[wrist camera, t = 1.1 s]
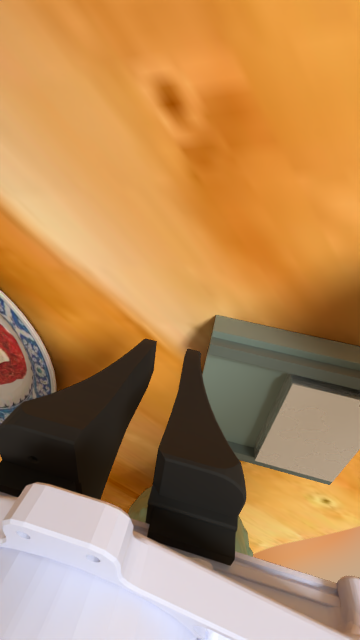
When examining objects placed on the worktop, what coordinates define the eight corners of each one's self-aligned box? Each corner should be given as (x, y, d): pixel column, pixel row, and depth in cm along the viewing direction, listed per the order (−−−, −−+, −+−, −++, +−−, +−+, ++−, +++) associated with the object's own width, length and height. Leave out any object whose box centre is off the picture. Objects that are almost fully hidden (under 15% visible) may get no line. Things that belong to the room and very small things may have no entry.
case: (389, 353, 21) (413, 383, 18) (318, 454, 28) (326, 488, 26) (216, 314, 23) (212, 337, 20) (190, 420, 30) (185, 448, 27)
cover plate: (383, 391, 20) (393, 408, 19) (327, 465, 25) (332, 482, 24) (289, 369, 21) (292, 384, 20) (254, 445, 26) (254, 460, 25)
